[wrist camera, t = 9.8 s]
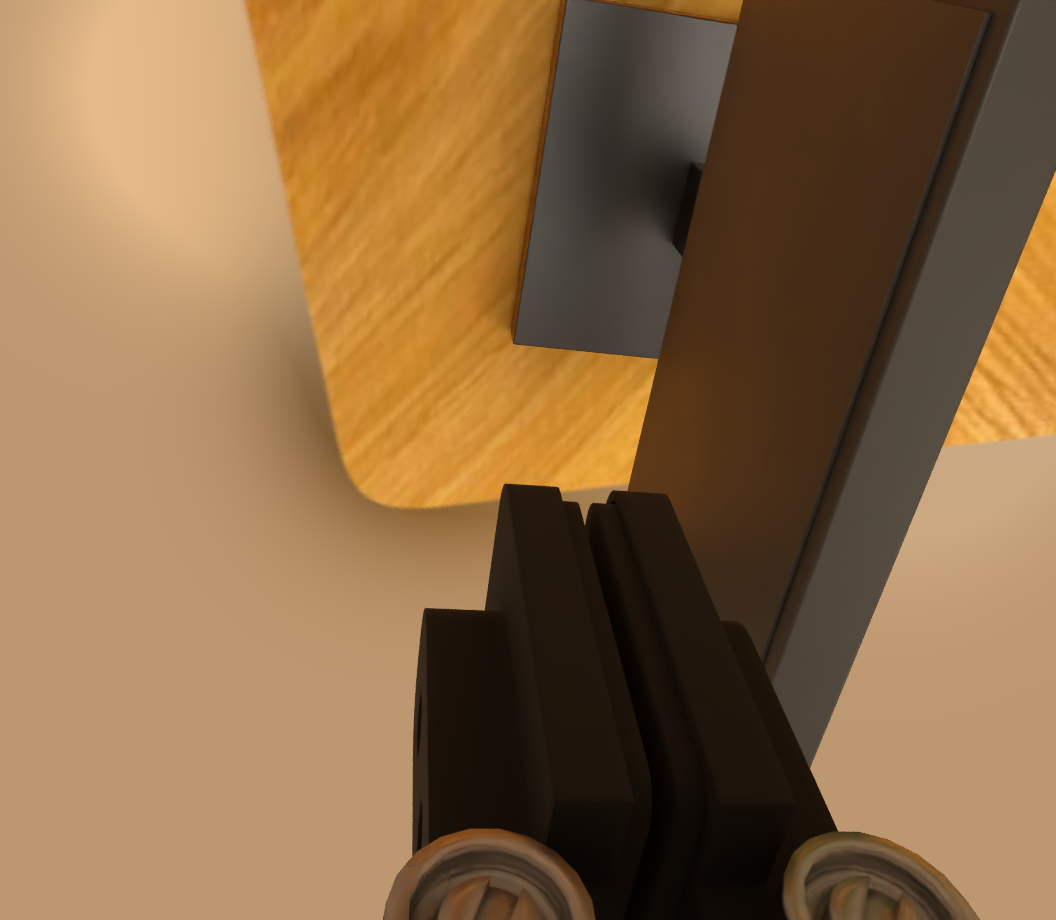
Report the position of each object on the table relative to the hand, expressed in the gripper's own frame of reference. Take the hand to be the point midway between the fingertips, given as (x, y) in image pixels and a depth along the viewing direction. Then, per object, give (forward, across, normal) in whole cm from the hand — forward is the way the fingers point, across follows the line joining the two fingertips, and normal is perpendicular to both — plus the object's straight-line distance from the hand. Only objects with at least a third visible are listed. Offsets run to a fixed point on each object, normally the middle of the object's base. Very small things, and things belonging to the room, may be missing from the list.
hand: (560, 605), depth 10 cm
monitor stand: (+27, -8, +2) cm, 28 cm away
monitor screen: (+18, -7, +2) cm, 19 cm away
